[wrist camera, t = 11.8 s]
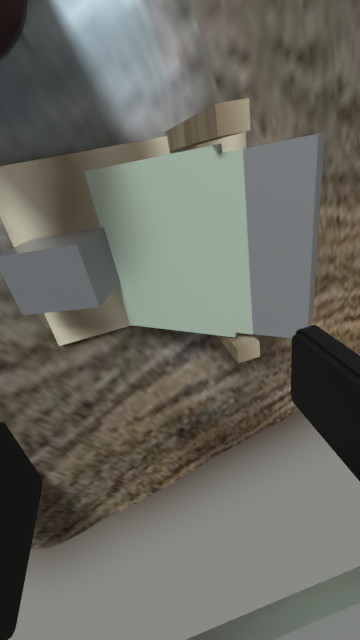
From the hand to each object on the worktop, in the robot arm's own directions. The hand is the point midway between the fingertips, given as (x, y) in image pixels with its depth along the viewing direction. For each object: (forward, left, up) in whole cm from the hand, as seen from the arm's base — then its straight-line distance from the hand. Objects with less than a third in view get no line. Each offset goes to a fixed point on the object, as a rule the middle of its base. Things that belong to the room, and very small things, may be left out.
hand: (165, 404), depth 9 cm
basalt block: (+1, 0, -17) cm, 17 cm away
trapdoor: (-9, 0, -17) cm, 20 cm away
